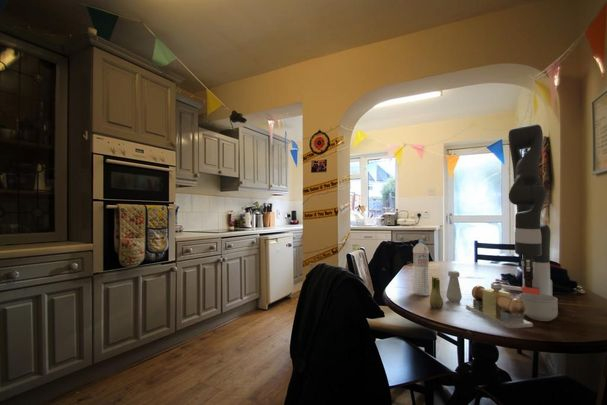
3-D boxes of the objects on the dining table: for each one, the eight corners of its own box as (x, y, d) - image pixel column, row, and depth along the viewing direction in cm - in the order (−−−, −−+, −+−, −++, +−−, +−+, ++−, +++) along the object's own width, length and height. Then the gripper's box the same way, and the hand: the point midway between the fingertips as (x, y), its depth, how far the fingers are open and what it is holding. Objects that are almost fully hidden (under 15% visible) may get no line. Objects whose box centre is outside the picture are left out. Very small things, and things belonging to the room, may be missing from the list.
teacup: (561, 326, 97) (560, 302, 97) (521, 319, 103) (520, 297, 103) (552, 314, 109) (552, 292, 109) (517, 308, 115) (517, 288, 115)
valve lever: (490, 289, 105) (490, 283, 106) (491, 287, 108) (491, 281, 108) (539, 295, 97) (539, 289, 97) (538, 293, 100) (538, 287, 100)
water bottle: (430, 293, 134) (429, 239, 135) (427, 297, 129) (427, 241, 129) (414, 291, 138) (414, 239, 139) (411, 294, 132) (411, 240, 133)
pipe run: (486, 307, 116) (486, 282, 116) (532, 326, 96) (532, 297, 97) (466, 308, 115) (466, 283, 115) (509, 328, 95) (508, 298, 95)
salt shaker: (463, 304, 119) (463, 272, 120) (448, 303, 120) (448, 272, 121) (459, 300, 125) (458, 269, 125) (444, 299, 126) (444, 269, 127)
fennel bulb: (430, 304, 119) (430, 275, 119) (444, 306, 116) (443, 276, 117) (428, 308, 114) (428, 278, 114) (442, 310, 111) (442, 279, 112)
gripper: (542, 244, 95) (543, 296, 95) (540, 240, 106) (541, 287, 105) (514, 242, 100) (514, 292, 100) (515, 238, 110) (515, 284, 110)
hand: (528, 290), depth 103 cm, fingers closed
